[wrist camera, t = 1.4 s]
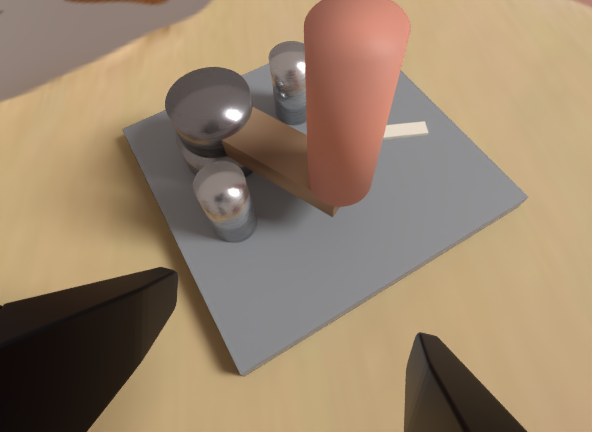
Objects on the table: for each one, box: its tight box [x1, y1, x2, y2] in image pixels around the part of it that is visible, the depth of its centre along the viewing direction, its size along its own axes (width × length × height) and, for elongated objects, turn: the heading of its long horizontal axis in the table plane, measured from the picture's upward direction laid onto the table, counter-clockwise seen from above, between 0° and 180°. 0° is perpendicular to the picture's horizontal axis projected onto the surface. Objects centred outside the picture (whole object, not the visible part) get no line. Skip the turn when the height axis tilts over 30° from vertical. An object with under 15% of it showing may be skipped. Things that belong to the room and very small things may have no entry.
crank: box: [165, 0, 410, 217], centre depth 17 cm, size 12×4×10 cm, turn 55°
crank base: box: [122, 41, 528, 376], centre depth 22 cm, size 18×17×6 cm
